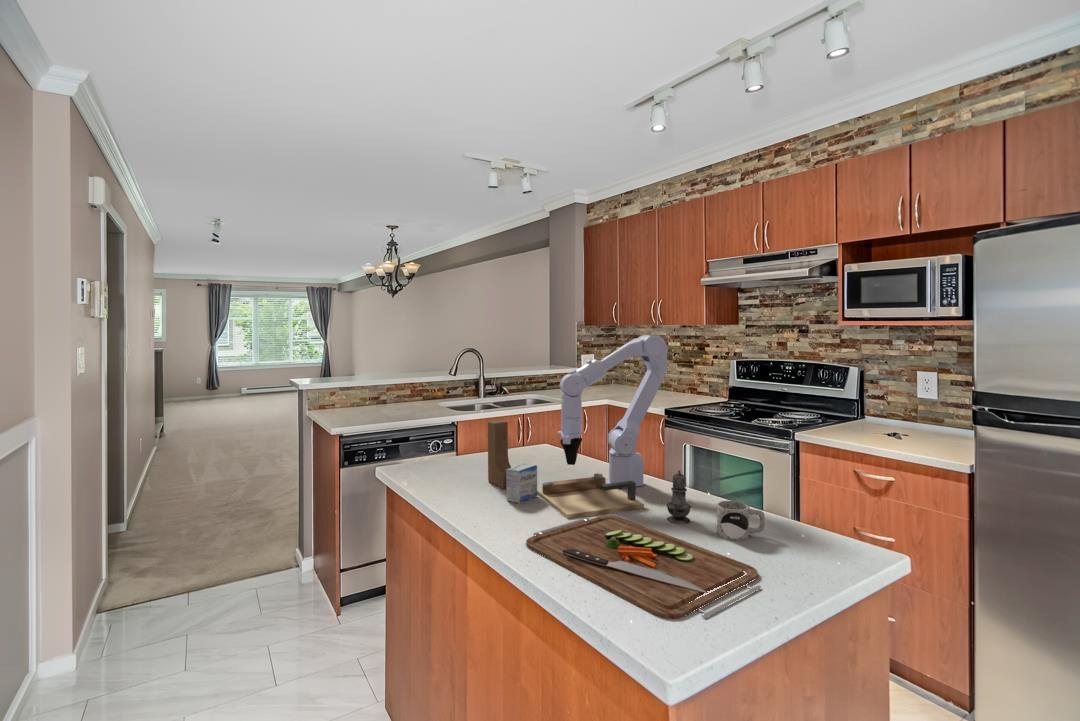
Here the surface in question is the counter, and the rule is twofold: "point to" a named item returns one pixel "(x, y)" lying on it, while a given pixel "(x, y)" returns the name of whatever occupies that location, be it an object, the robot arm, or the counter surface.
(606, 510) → the oak board
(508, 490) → the medicine box
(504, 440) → the wooden block
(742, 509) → the mug
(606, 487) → the bar
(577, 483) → the link
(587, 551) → the chopping board
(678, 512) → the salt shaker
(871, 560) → the counter surface
